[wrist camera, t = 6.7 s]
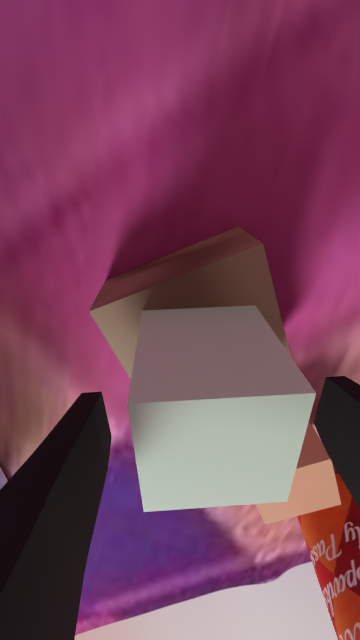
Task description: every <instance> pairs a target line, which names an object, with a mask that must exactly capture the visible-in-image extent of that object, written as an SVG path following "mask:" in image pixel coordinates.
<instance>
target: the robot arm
mask: <svg viewBox="0 0 360 640" xmlns="http://www.w3.org/2000/svg"><path fill="white" fill-rule="evenodd" d="M314 424H315V426H316V429H317V431H318V434H319V436H320V439H321V441H322V443H323V445H324V447H325V450H326V452H327V454H328V456H329V457H330V459H331V461H332V463H333V464H334V466H335V468H336V470H337V471H338V473H339V475H340V477H341V478H342V480H343V482H344V483H345V485H346V487H347V488H348V490H349V492H350V494H351V495H352V497H353V499H354V500H355V502H356V504H357V505H358V507H359V509H360V385H359V384H357V383H356V382H354V381H352V380H350V379H349V378H347V377H345V376H339V377H326V379H325V383H324V386H323V390H322V394H321V398H320V401H319V405H318V409H317V413H316V416H315V420H314ZM110 445H111V432H110V428H109V423H108V419H107V414H106V410H105V405H104V401H103V396H102V392H90V393H82V394H81V395H80V396H79V397H78V398H77V399H76V401H75V402H74V403H73V405H72V406H71V407H70V408H69V410H68V411H67V412H66V413H65V415H64V416H63V417H62V419H61V420H60V421H59V422H58V423H57V425H56V426H55V427H54V428H53V430H52V431H51V432H50V433H49V435H48V436H47V437H46V438H45V439H44V441H43V442H42V443H41V444H40V445H39V447H38V448H37V449H36V450H35V451H34V452H33V454H32V455H31V456H30V457H29V458H28V459H27V461H26V462H25V463H24V464H23V465H22V466H21V467H20V468H19V469H18V470H17V472H16V473H15V474H14V475H13V476H12V477H11V478H10V479H9V480H7V478H6V477H5V475H4V473H3V471H2V469H1V467H0V640H74V637H75V631H76V624H77V617H78V610H79V604H80V597H81V591H82V584H83V577H84V572H85V567H86V562H87V556H88V552H89V547H90V543H91V539H92V535H93V530H94V526H95V522H96V517H97V513H98V509H99V505H100V500H101V496H102V492H103V487H104V483H105V478H106V474H107V469H108V462H109V454H110Z"/></svg>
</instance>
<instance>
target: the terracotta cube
mask: <svg viewBox="0 0 360 640" xmlns="http://www.w3.org/2000/svg"><path fill="white" fill-rule="evenodd" d="M337 505H341V500H340V496H339V491H338V487H337V482H336V478H335V473H334V469H333V464H332V461H331V459H330V457H329V456H328V454H327V452H326V450H325V447H324V445H323V444H322V442H321V440H320V439H319V437H318V435H317V433H316V432H315V430H314V428H313V427H312V425H311V423H310V421H309V422H308V426H307V429H306V433H305V437H304V441H303V444H302V448H301V452H300V456H299V459H298V463H297V467H296V471H295V474H294V478H293V482H292V486H291V489H290V493H289V497H288V501H287V502H276V503H262V504H256V506H257V508H258V510H259V512H260V514H261V516H262V518H263V520H264V522H265V524H269V523H273V522H277V521H281V520H284V519H288V518H292V517H296V516H299V515H303V514H307V513H311V512H314V511H318V510H322V509H326V508H330V507H333V506H337Z"/></svg>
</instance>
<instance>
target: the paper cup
mask: <svg viewBox="0 0 360 640" xmlns="http://www.w3.org/2000/svg"><path fill="white" fill-rule="evenodd" d="M334 473H335V478H336V482H337V487H338V491H339V496H340V500H341V505H337V506H333V507H330V508H326V509H322V510H318V511H314V512H311V513H307V514H303V515H299V516H297V517H298V520H299V523H300V526H301V529H302V532H303V535H304V538H305V542H306V545H307V548H308V551H309V554H310V557H311V560H312V562H313V566H314V569H315V572H316V575H317V578H318V581H319V584H320V587H321V590H322V593H323V596H324V599H325V601H326V605H327V607H328V611H329V613H330V617H331V620H332V622H333V625H334V629H335V632H336V634H337V637H338V640H360V509H359V507H358V505H357V504H356V502H355V500H354V499H353V497H352V495H351V494H350V492H349V490H348V488H347V487H346V485H345V483H344V482H343V480H342V478H341V477H340V475H339V473H338V472H334Z"/></svg>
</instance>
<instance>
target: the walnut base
mask: <svg viewBox="0 0 360 640" xmlns="http://www.w3.org/2000/svg"><path fill="white" fill-rule="evenodd" d="M251 305H255V306H256V307H257V308H258V310H259V311H260V313H261V314H262V316H263V317H264V319H265V320H266V321H267V323H268V324H269V326H270V327H271V329H272V330H273V331H274V333H275V334H276V336H277V337H278V339H279V340H280V342H281V343H282V344H283V346H284V347H285V349H286V350H287V352H288V353H289V355H290V352H289V348H288V344H287V340H286V335H285V331H284V327H283V323H282V319H281V315H280V311H279V306H278V302H277V298H276V294H275V290H274V286H273V282H272V277H271V273H270V269H269V265H268V261H267V257H266V253H265V248H264V244H263V243H262V242H261V241H259V240H258V239H256V238H255V237H253V236H252V235H251V234H249V233H248V232H246V231H245V230H244V229H242V228H241V227H239V226H237V227H235V228H232V229H230V230H227V231H225V232H222V233H220V234H217V235H215V236H212V237H210V238H207V239H205V240H203V241H200V242H198V243H195V244H193V245H190V246H188V247H185V248H183V249H180V250H178V251H175V252H173V253H170V254H168V255H165V256H163V257H160V258H158V259H155V260H153V261H150V262H148V263H146V264H143V265H141V266H138V267H136V268H133V269H131V270H128V271H126V272H123V273H121V274H118V275H116V276H113V277H111V278H108V279H106V281H105V282H104V284H103V286H102V288H101V290H100V292H99V294H98V296H97V297H96V299H95V301H94V303H93V305H92V307H91V309H90V310H89V313H90V314H91V316H92V317H93V319H94V321H95V322H96V324H97V326H98V327H99V329H100V330H101V332H102V334H103V335H104V337H105V339H106V340H107V342H108V343H109V345H110V347H111V348H112V350H113V352H114V353H115V355H116V356H117V358H118V360H119V361H120V363H121V365H122V366H123V368H124V369H125V371H126V373H127V374H128V376H129V378H130V379H131V377H132V370H133V364H134V358H135V351H136V345H137V338H138V332H139V326H140V319H141V313H142V311H143V310H165V309H186V308H208V307H230V306H251Z"/></svg>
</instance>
